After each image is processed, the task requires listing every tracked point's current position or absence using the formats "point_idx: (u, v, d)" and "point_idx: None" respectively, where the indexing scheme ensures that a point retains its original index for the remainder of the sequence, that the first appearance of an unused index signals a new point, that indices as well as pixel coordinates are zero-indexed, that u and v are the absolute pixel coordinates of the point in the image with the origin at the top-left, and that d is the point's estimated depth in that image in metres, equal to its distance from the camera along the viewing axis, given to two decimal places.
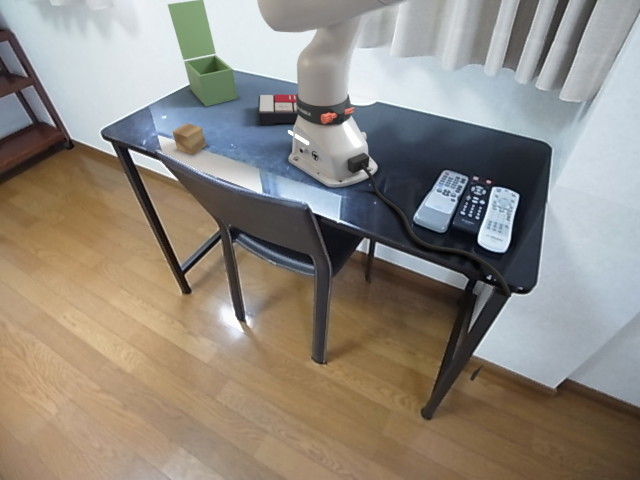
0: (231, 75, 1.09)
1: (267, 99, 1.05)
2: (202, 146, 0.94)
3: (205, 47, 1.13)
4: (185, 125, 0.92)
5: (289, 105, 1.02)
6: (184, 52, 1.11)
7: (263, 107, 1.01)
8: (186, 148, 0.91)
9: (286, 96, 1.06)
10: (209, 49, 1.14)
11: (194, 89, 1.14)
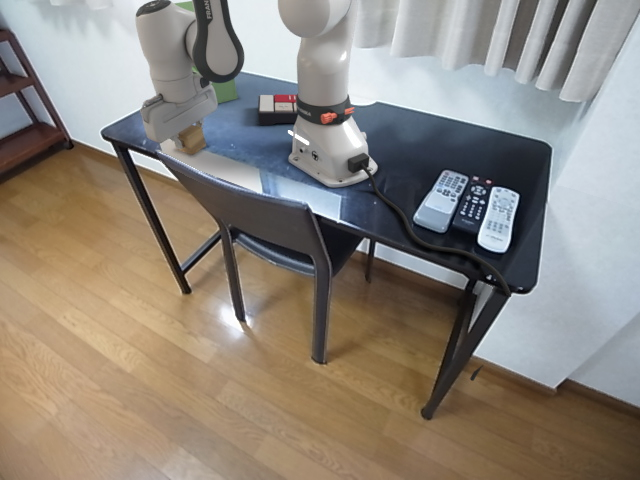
0: None
1: (267, 99, 1.05)
2: (202, 146, 0.94)
3: None
4: None
5: (289, 105, 1.02)
6: None
7: (263, 107, 1.01)
8: (186, 148, 0.91)
9: (286, 96, 1.06)
10: None
11: None
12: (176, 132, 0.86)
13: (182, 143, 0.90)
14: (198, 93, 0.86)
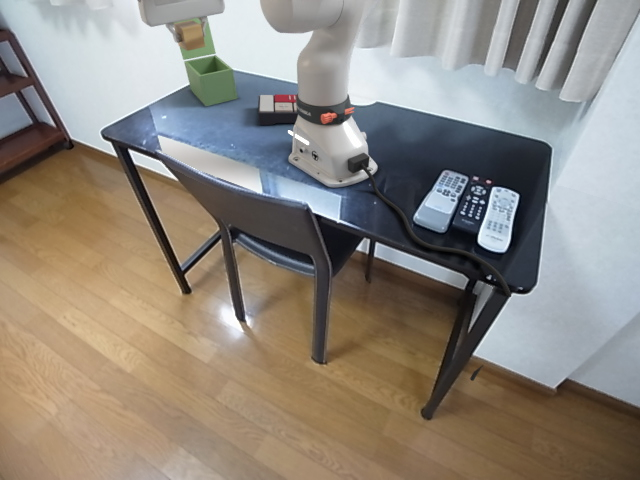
0: (231, 75, 1.09)
1: (267, 99, 1.05)
2: (200, 45, 0.94)
3: (205, 47, 1.13)
4: (188, 21, 0.93)
5: (289, 105, 1.02)
6: (184, 52, 1.11)
7: (263, 107, 1.01)
8: (183, 42, 0.92)
9: (286, 96, 1.06)
10: (209, 49, 1.14)
11: (194, 89, 1.14)
12: (170, 21, 0.87)
13: (179, 36, 0.91)
14: None
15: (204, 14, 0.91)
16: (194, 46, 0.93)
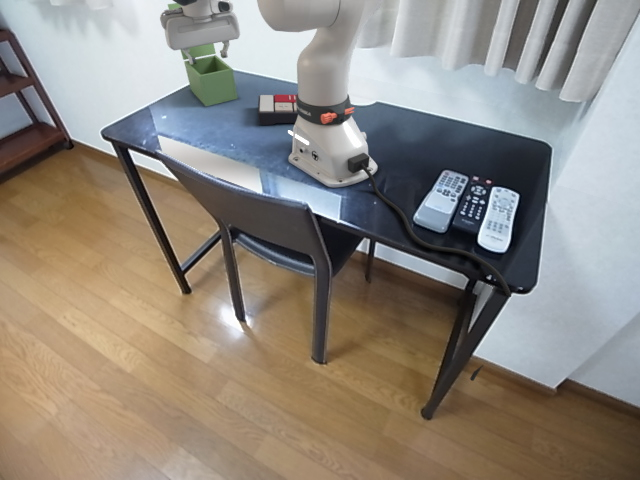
0: (231, 75, 1.09)
1: (267, 99, 1.05)
2: None
3: (205, 47, 1.13)
4: None
5: (289, 105, 1.02)
6: None
7: (263, 107, 1.01)
8: None
9: (286, 96, 1.06)
10: (209, 49, 1.14)
11: (194, 89, 1.14)
12: (191, 45, 1.01)
13: (193, 59, 1.04)
14: (216, 15, 0.99)
15: (221, 40, 1.04)
16: None
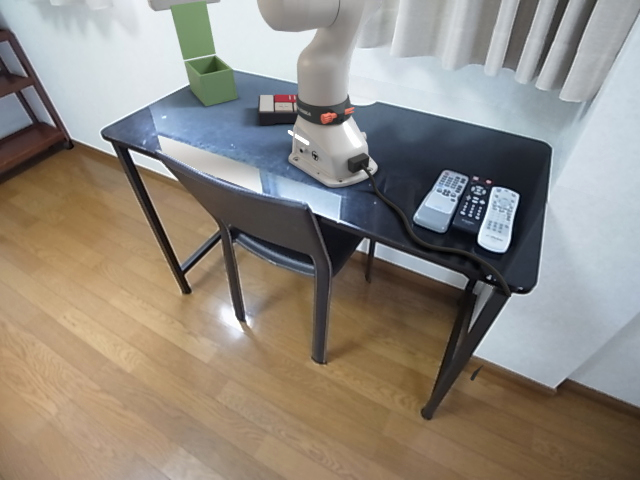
0: (231, 75, 1.09)
1: (267, 99, 1.05)
2: None
3: (206, 48, 1.13)
4: None
5: (289, 105, 1.02)
6: (184, 52, 1.11)
7: (263, 107, 1.01)
8: None
9: (286, 96, 1.06)
10: (209, 49, 1.14)
11: (194, 89, 1.14)
12: None
13: None
14: None
15: None
16: None
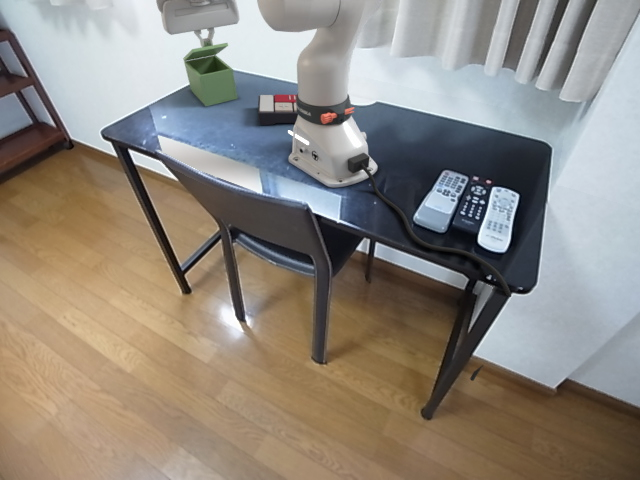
0: (231, 75, 1.09)
1: (267, 99, 1.05)
2: None
3: (209, 55, 1.13)
4: None
5: (289, 105, 1.02)
6: (187, 59, 1.11)
7: (263, 107, 1.01)
8: None
9: (286, 96, 1.06)
10: (211, 55, 1.14)
11: (194, 89, 1.14)
12: (188, 30, 0.98)
13: (205, 42, 1.02)
14: None
15: (219, 24, 1.01)
16: None
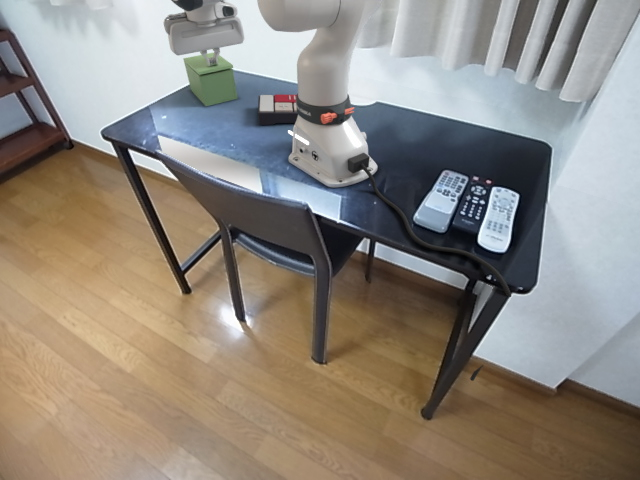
0: (231, 75, 1.09)
1: (267, 99, 1.05)
2: None
3: None
4: None
5: (289, 105, 1.02)
6: None
7: (263, 107, 1.01)
8: None
9: (286, 96, 1.06)
10: None
11: (194, 89, 1.14)
12: (194, 50, 1.00)
13: (211, 61, 1.04)
14: (220, 20, 0.98)
15: (225, 44, 1.03)
16: None
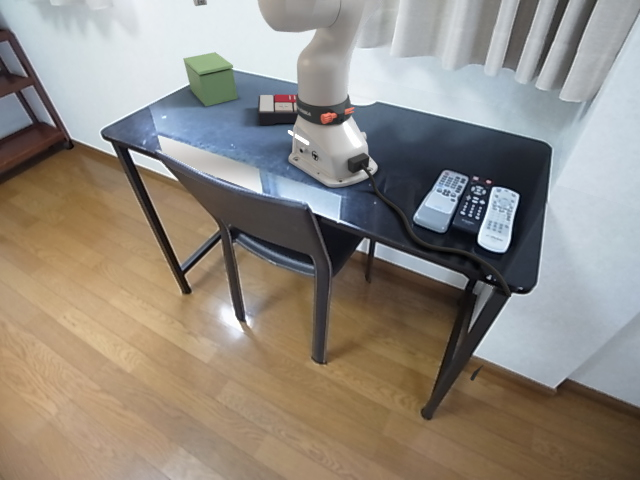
0: (231, 75, 1.09)
1: (267, 99, 1.05)
2: None
3: None
4: None
5: (289, 105, 1.02)
6: None
7: (263, 107, 1.01)
8: None
9: (286, 96, 1.06)
10: None
11: (194, 89, 1.14)
12: None
13: None
14: None
15: None
16: None
